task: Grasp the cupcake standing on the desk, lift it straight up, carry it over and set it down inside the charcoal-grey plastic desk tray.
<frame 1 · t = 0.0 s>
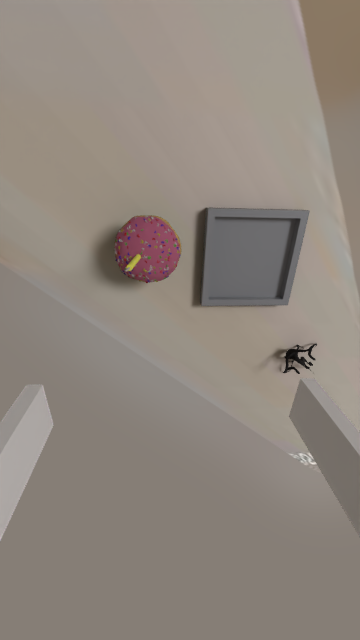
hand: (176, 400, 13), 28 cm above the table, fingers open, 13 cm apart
creature: (295, 354, 48), on the table
cupcake: (149, 243, 37), on the table
tray: (248, 258, 39), on the table
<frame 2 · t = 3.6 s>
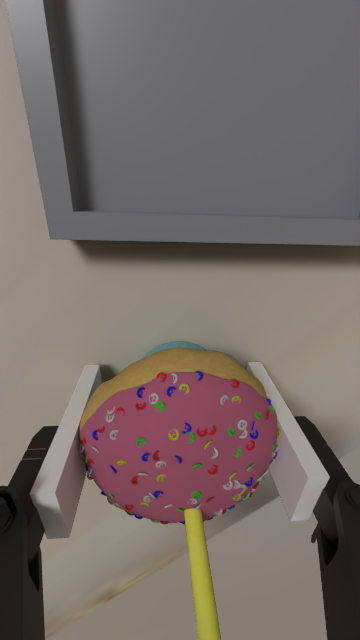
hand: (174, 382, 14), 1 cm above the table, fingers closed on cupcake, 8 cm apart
cupcake: (174, 371, 15), on the table, touching gripper
tray: (241, 24, 9), on the table
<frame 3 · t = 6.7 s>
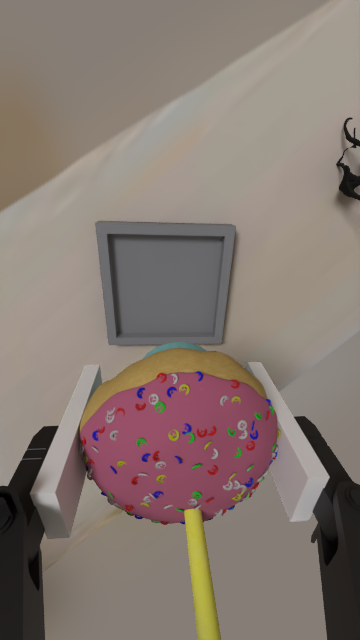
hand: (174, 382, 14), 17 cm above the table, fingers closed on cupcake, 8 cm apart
creature: (356, 159, 26), on the table
cupcake: (174, 372, 15), point 16 cm above the table, touching gripper
tray: (166, 285, 30), on the table
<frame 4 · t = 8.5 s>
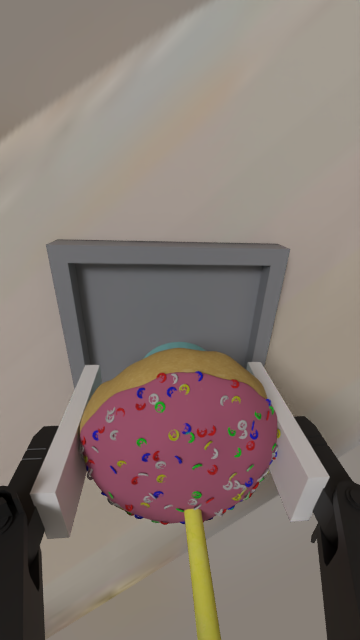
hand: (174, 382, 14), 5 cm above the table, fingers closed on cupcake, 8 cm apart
cupcake: (174, 372, 15), point 4 cm above the table, touching gripper
tray: (169, 336, 19), on the table
when the fingers open (3 cm above the table, at t = 9.9 s): cupcake drops 2 cm, resting on tray.
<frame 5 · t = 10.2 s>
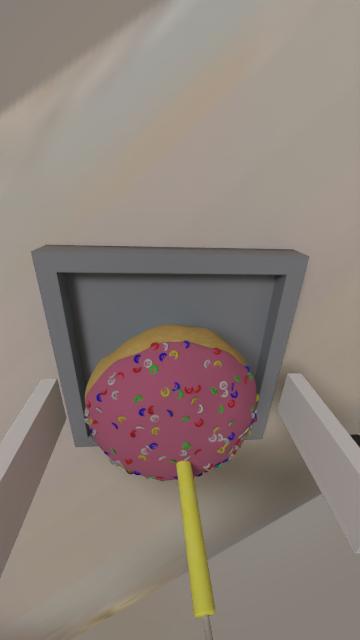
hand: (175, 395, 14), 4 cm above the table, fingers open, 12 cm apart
cupcake: (168, 355, 17), resting on tray
tray: (172, 351, 17), on the table
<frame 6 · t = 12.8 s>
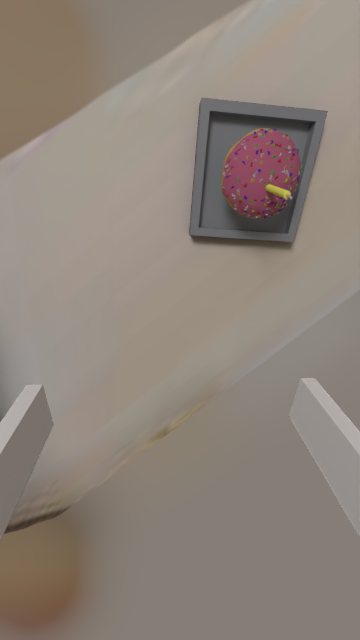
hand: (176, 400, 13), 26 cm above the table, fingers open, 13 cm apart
cupcake: (247, 179, 32), resting on tray
tray: (248, 179, 32), on the table
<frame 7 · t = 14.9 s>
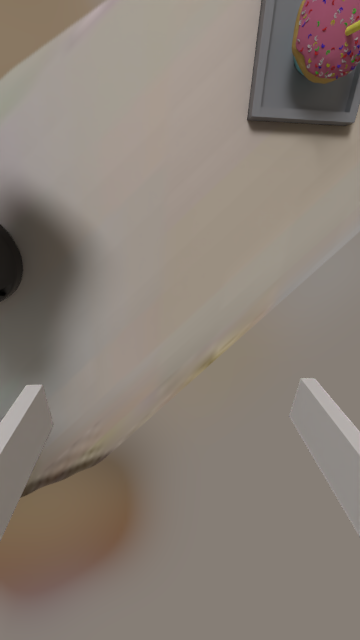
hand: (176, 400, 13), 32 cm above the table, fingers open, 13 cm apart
cupcake: (310, 51, 31), resting on tray
tray: (310, 53, 31), on the table
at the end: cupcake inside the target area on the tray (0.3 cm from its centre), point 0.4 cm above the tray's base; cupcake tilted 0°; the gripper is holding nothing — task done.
